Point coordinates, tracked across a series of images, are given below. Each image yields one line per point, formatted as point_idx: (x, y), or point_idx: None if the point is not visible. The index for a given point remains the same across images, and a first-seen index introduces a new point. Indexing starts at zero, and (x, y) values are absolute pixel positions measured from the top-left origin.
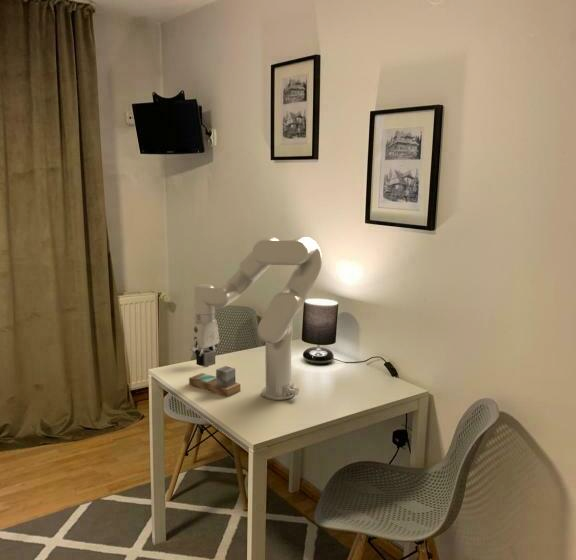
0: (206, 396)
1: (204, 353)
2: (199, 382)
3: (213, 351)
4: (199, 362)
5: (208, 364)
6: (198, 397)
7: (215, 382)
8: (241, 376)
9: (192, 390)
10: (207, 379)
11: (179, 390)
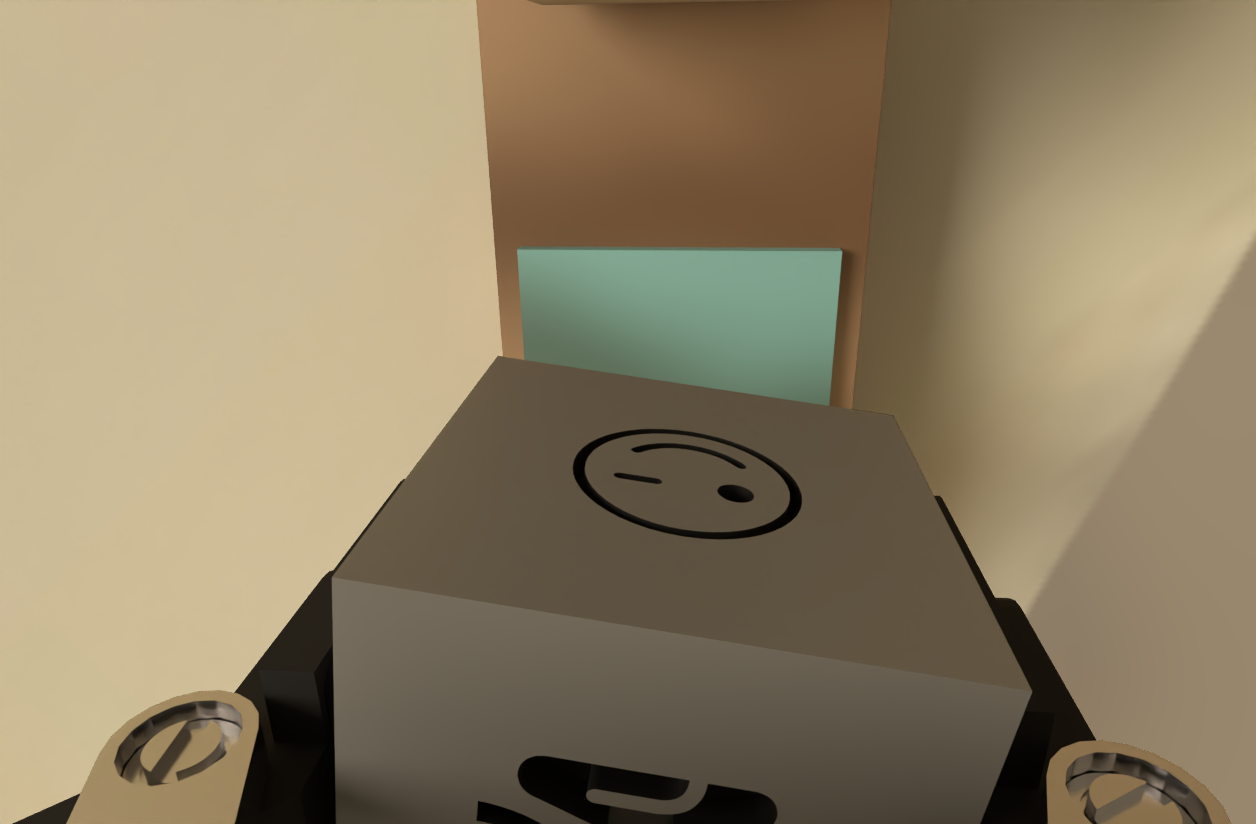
0: (1066, 14)
1: (910, 778)
2: (847, 407)
3: (398, 636)
4: (1022, 619)
5: (765, 413)
6: (1174, 107)
7: (734, 105)
8: (7, 172)
9: (951, 407)
10: (728, 334)
11: (1048, 557)
